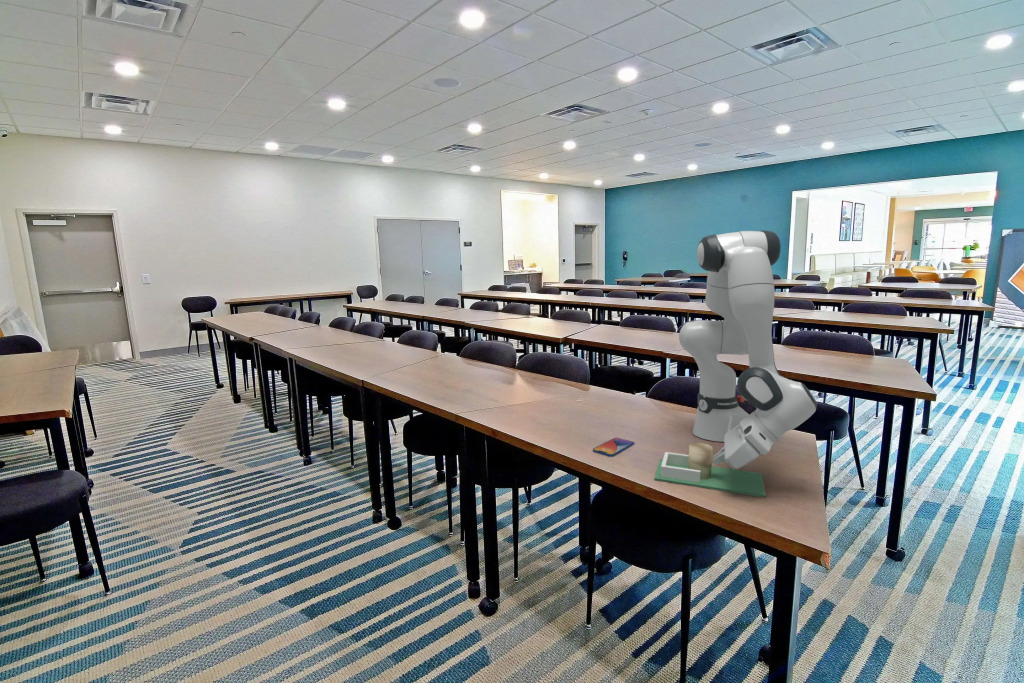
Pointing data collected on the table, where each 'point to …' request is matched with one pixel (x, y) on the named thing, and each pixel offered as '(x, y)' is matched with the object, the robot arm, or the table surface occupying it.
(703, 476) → the maple canister
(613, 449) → the smartphone
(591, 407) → the table surface
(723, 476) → the putting green
